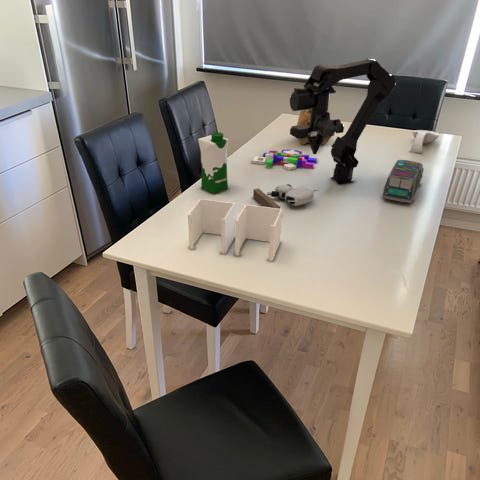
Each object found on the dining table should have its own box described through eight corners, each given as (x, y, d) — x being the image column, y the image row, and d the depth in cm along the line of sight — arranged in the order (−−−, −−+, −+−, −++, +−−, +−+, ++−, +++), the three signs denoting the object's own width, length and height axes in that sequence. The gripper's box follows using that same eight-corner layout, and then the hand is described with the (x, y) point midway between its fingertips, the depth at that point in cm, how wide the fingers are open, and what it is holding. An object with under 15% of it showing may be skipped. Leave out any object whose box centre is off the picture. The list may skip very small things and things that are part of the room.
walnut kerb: (258, 197, 170) (258, 188, 168) (279, 216, 159) (280, 206, 157) (252, 198, 169) (253, 189, 167) (274, 217, 158) (274, 207, 156)
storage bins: (279, 242, 145) (282, 209, 138) (272, 260, 136) (274, 226, 130) (201, 231, 150) (200, 198, 143) (189, 248, 141) (187, 214, 135)
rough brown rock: (325, 153, 208) (333, 117, 198) (289, 145, 211) (295, 109, 202) (336, 139, 225) (344, 105, 216) (302, 131, 229) (308, 98, 219)
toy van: (421, 182, 182) (428, 156, 176) (410, 207, 165) (417, 179, 158) (393, 177, 186) (398, 151, 179) (379, 201, 168) (385, 174, 162)
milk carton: (213, 195, 170) (212, 138, 158) (197, 188, 175) (194, 132, 163) (231, 189, 175) (231, 133, 163) (215, 181, 180) (213, 127, 168)
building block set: (319, 155, 204) (320, 144, 201) (311, 173, 188) (312, 161, 185) (262, 149, 209) (262, 138, 206) (249, 165, 194) (250, 154, 191)
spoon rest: (413, 135, 226) (417, 120, 221) (439, 139, 221) (443, 123, 217) (402, 151, 209) (406, 134, 205) (429, 155, 205) (434, 138, 200)
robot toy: (264, 201, 169) (297, 212, 160) (264, 189, 166) (298, 199, 158) (286, 191, 176) (319, 201, 167) (286, 179, 173) (320, 188, 165)
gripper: (308, 117, 152) (303, 165, 162) (356, 111, 158) (349, 157, 168) (290, 108, 160) (287, 154, 170) (337, 102, 166) (331, 147, 176)
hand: (314, 154), depth 171 cm, fingers closed
